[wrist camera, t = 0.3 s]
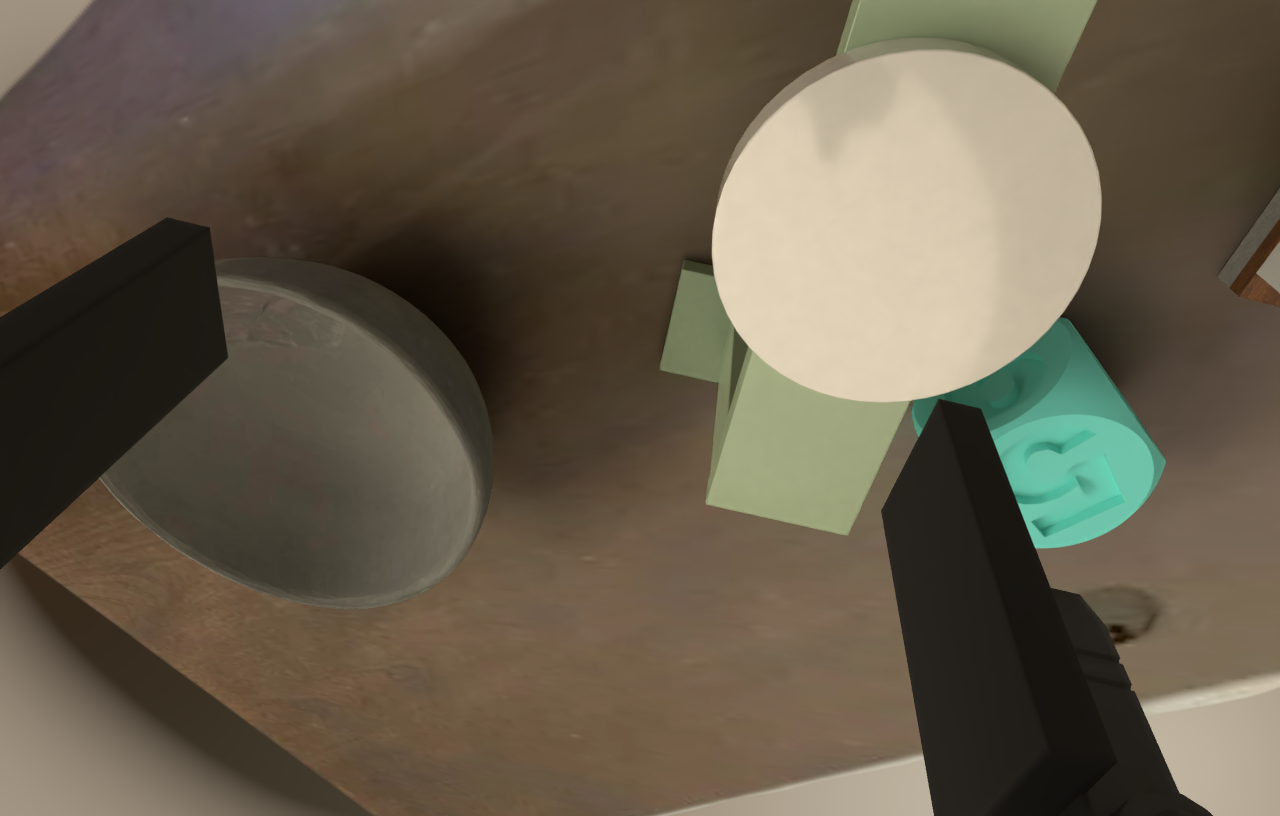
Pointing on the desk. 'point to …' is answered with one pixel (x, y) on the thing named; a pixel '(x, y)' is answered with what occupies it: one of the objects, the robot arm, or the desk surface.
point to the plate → (905, 220)
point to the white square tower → (1257, 259)
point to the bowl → (319, 444)
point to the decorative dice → (1062, 439)
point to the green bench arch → (782, 409)
